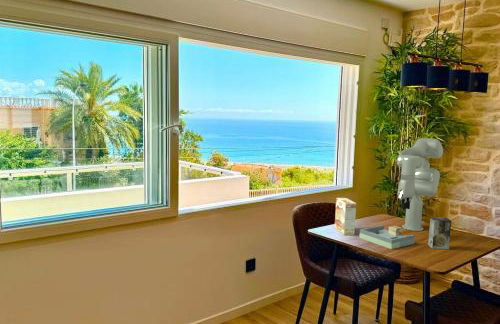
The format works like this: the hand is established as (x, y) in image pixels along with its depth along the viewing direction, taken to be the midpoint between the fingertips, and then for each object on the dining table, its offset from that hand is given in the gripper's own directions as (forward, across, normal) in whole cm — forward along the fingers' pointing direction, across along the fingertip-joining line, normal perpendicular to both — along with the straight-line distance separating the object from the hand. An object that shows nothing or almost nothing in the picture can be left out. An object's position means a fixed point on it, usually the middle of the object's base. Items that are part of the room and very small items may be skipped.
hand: (405, 208), depth 231 cm
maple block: (+14, +8, 0) cm, 16 cm away
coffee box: (+17, -2, +21) cm, 27 cm away
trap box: (+17, +15, 0) cm, 23 cm away
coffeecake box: (+17, +24, -24) cm, 38 cm away
